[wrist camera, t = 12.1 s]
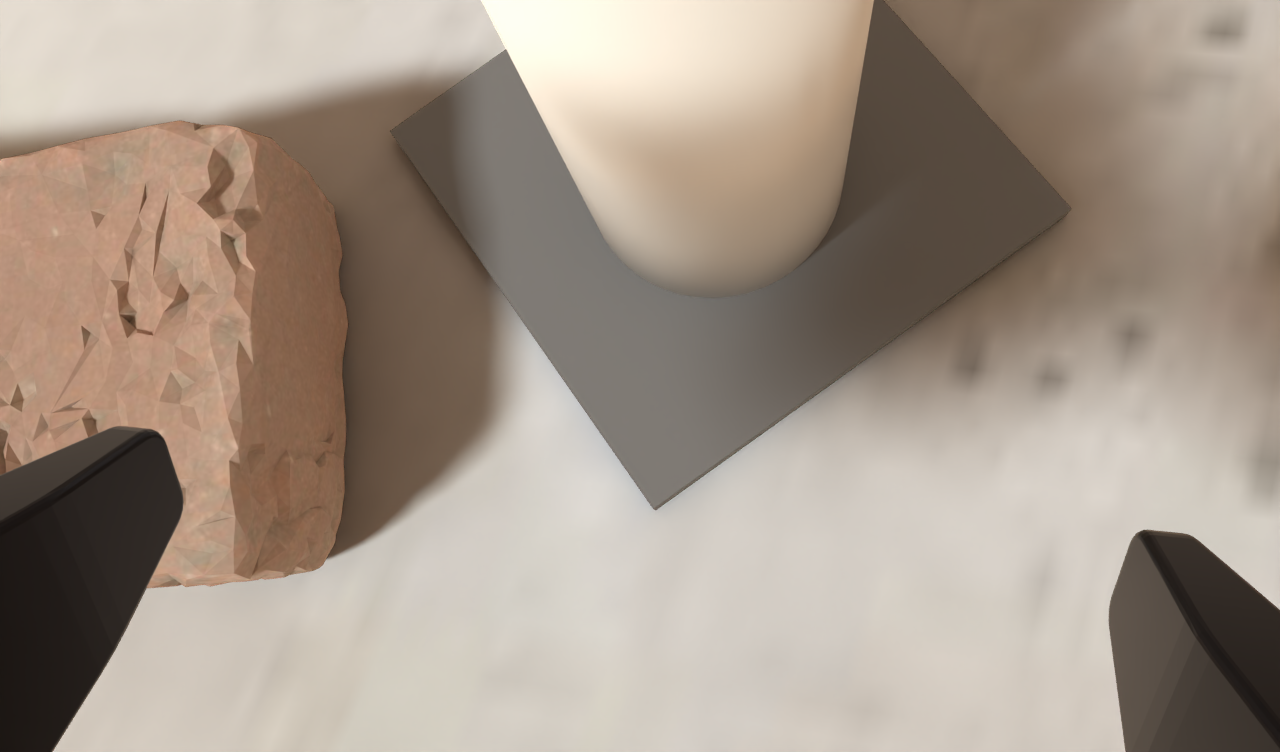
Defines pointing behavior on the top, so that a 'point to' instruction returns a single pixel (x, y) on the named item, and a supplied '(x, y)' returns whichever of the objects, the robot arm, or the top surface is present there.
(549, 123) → the glue bottle
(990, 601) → the top surface
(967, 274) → the mat
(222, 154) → the brick
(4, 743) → the robot arm
